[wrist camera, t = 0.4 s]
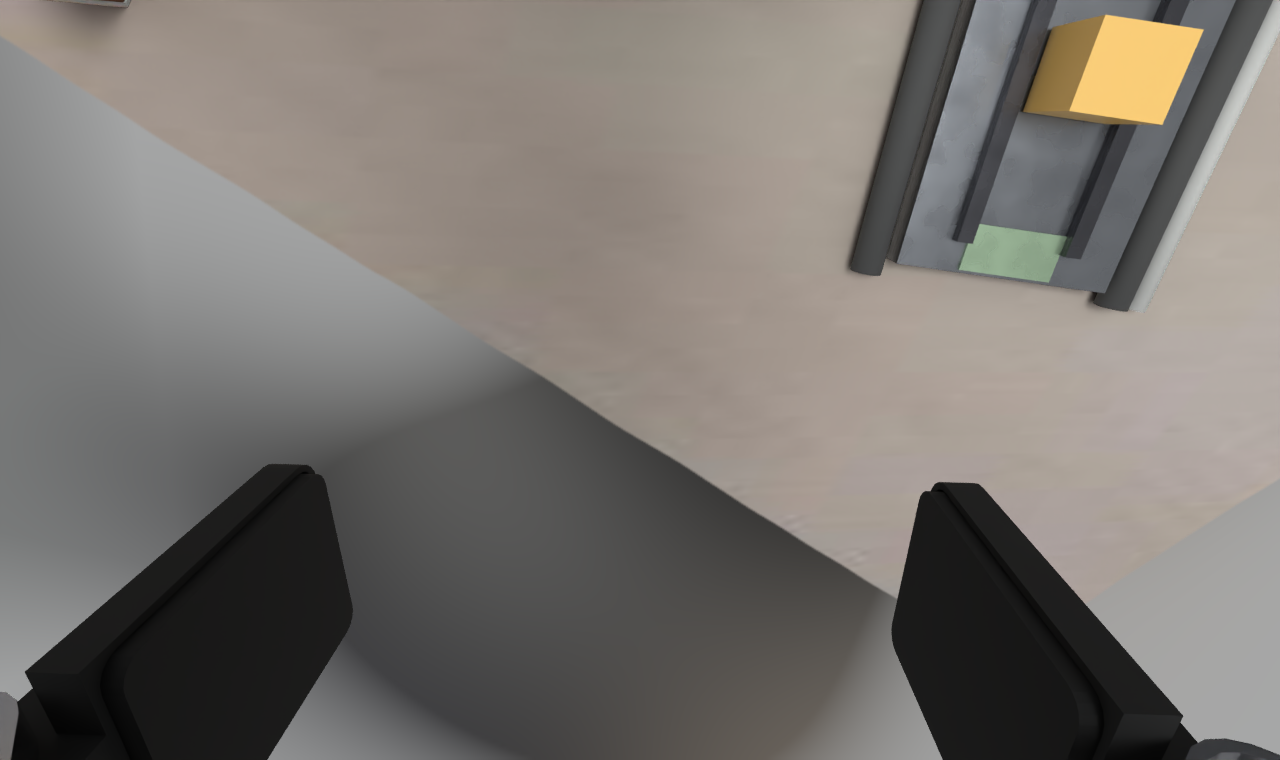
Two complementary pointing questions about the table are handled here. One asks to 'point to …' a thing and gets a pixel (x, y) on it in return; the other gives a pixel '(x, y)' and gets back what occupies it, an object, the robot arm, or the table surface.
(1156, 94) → the toggle
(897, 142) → the pair of dark bars
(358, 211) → the table surface
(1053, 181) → the railed metal tray
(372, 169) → the table surface
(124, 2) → the food container
